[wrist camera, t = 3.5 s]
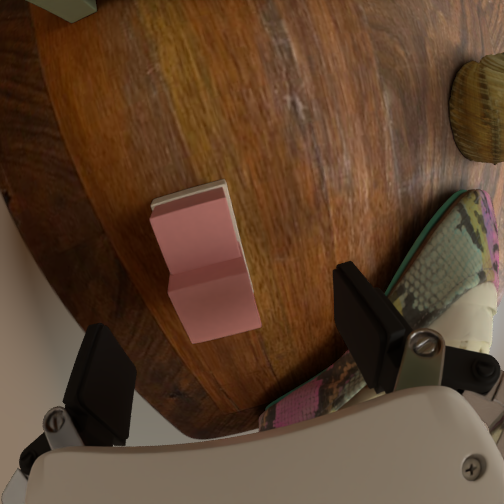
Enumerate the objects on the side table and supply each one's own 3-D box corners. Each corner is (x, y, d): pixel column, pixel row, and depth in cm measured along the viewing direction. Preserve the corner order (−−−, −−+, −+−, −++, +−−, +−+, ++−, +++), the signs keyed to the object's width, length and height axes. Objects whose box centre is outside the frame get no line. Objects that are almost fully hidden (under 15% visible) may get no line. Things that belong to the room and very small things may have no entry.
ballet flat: (490, 227, 20) (567, 286, 11) (301, 424, 30) (325, 500, 20) (453, 155, 16) (573, 214, 7) (226, 413, 25) (242, 510, 16)
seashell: (450, 140, 20) (524, 158, 15) (447, 178, 16) (538, 202, 12) (442, 38, 13) (528, 55, 9) (441, 45, 10) (555, 72, 5)
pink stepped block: (251, 284, 18) (264, 329, 15) (191, 299, 18) (191, 347, 14) (224, 178, 15) (233, 204, 11) (152, 199, 15) (138, 231, 11)
